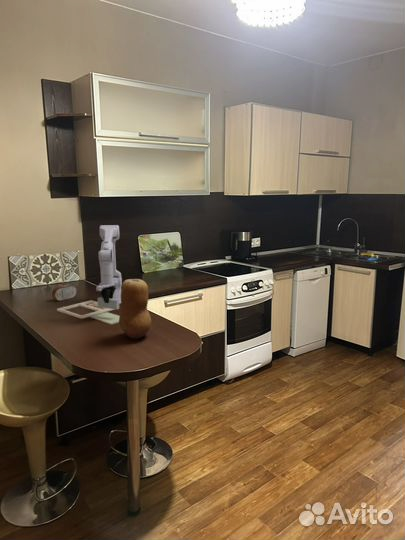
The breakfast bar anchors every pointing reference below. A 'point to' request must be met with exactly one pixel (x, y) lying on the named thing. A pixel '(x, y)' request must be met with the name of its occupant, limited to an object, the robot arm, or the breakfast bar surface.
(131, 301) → the butternut squash
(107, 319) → the mat
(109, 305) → the grey rectangular block
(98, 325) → the breakfast bar surface
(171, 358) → the breakfast bar surface
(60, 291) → the tin
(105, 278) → the robot arm
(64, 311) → the rack
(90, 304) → the offcut upper
